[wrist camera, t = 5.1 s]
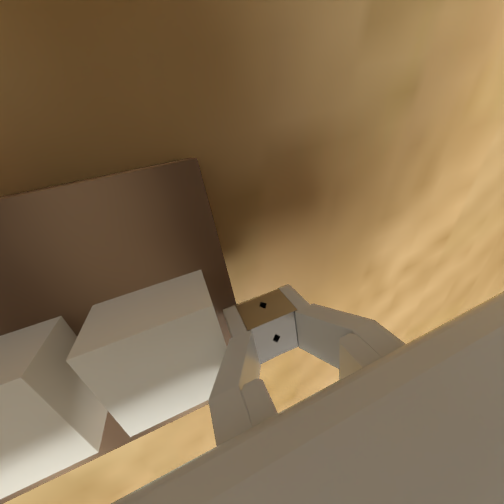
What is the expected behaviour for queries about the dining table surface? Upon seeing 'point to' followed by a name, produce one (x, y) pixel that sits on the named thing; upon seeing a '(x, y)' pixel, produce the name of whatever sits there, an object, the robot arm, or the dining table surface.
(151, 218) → the board
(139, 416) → the tile
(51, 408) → the tile
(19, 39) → the dining table surface
